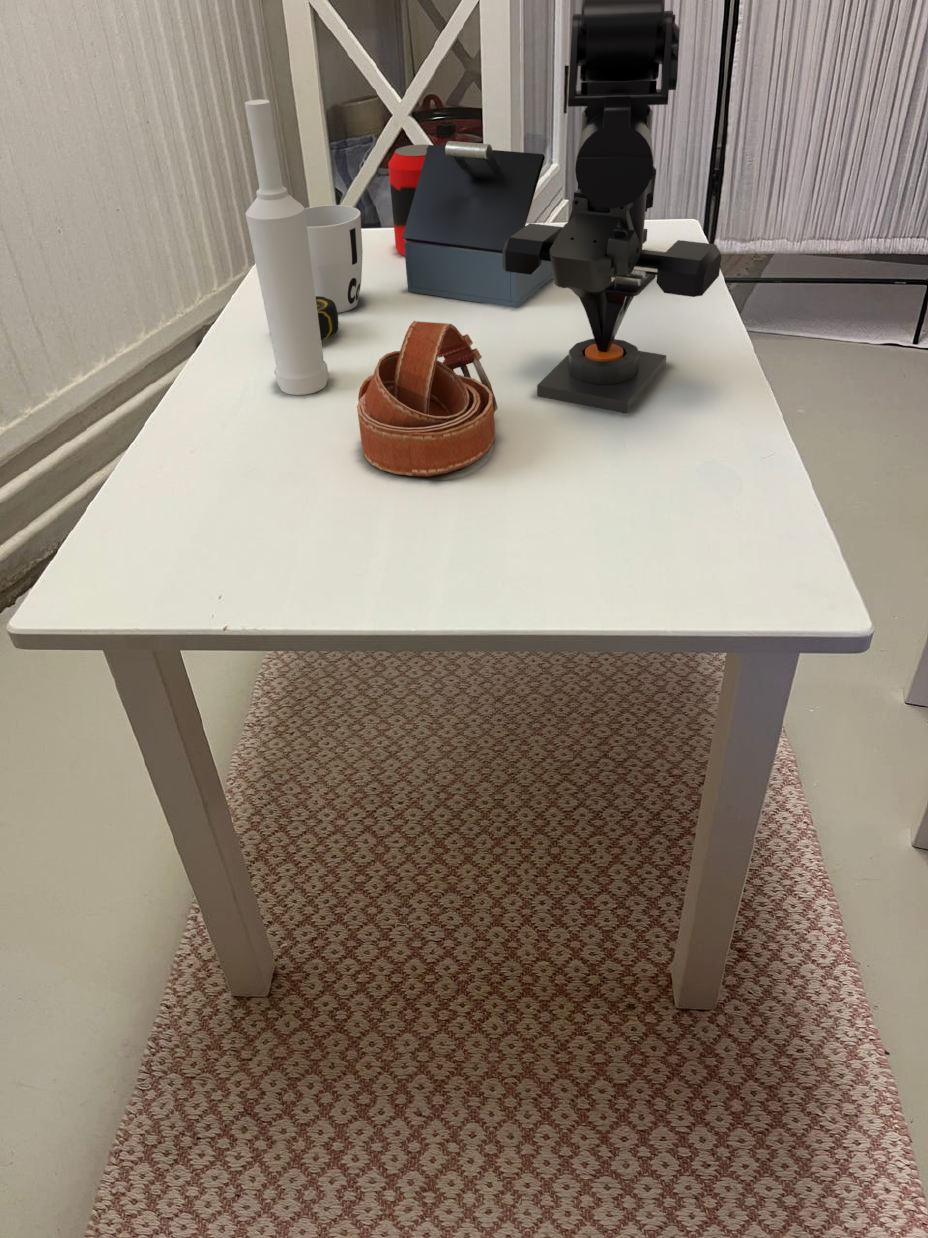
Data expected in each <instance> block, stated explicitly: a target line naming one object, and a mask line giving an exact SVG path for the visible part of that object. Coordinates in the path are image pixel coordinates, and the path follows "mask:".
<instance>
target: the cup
mask: <svg viewBox="0 0 928 1238" xmlns="http://www.w3.org/2000/svg"><path fill="white" fill-rule="evenodd" d="M304 209H305V217H306V225H307V233H308V241H309V249H310V256H311V264H312V272H313V280H314V288H315V296H320V297H325V298H327V299H330V300H332V301H333V302H334V303H335V305H336V308H337V313H338V314H340V313H344V312H348V311H351V310H353V309H354V308H356V307H357V306H358V303H359V297H360V291H361V286H362V276H363V275H362V274H363V238H362V237H363V235H362V219H361V218H362V217H361V210H360V209H358V208H356V207H354V206H351V205H350V206H349V205H344V204H343V205H342V204H326V205H315V206H310V207H304Z"/></svg>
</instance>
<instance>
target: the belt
mask: <svg viewBox="0 0 928 1238" xmlns="http://www.w3.org/2000/svg"><path fill="white" fill-rule="evenodd" d="M473 344H474V342H473V340H472V338H471V337H470V336H469V334H468V333H466V334H463V335H462V333H461V331H460V330H459V329H458V328H457V327H456V326H455V325H454V324H452V323H449V322H448V323H445V322H434V321H433V322H432V321H431V322H430V321H419V320H418V321H417V320H413V322H411V323H410V325H409V327H408V328H407V330H406V333H405V335H404V337H403V340H402V344H401V346H400V350H395V351H391V352H388V353H385V354H384V355H383V356H382V357H381V358H379V360H378V362H377V364H376V366H375V369H374V371H373V374H372V375H369V376H368V377H367V378H366V379H364V380H363V382H362V384H361V385H360V387H359V392H358V396H357V397H358V398H357V399H358V403H357V406H356V408H357V418H358V426H359V433H360V441H361V449H362V453H363V457H364V458H365V460H367V462H368V463H369V464H370V465H372V466H373V467H375V468H377V469H379V470H381V471H385V472H387V473H391V474H394V475H402V476H409V477H427V478H429V477H433V476H439V475H444V474H449V473H451V472H454V471H457V470H461V469H463V468H466V467H468V466H470V465H472V464H474V463H476V462H478V461H480V460H481V459H482V458H483V457H484V456H485V455H487V454H488V453H489V451H490V450H491V449H492V446H493V445H494V443H495V440H496V439H495V437H496V427H495V413H496V412H497V411H498V409H499V408H498V404H497V399H496V397H495V394H494V390H493V387H492V385H491V381H490V379H489V377H488V376H487V374H486V371H485V368H484V367H483V365H482V363H481V359H482V357H483V356H482V355H481V353H480V351H479V350H478V348H477V347H476V348H472V347H471V346H472V345H473ZM441 358H443V359H444V360H443V361H442V362H441V361H440V360H438V359H441ZM470 364H473V367H474V368H475V370H476V374H477V376H478V378H479V380H477V379H476V378H473V377H472V376H471V374H470V371H469V369H468V365H470ZM456 369H460V370H461V372H462V374H463V375H460V374H457V373H456V372H455V371H454V370H456Z"/></svg>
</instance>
